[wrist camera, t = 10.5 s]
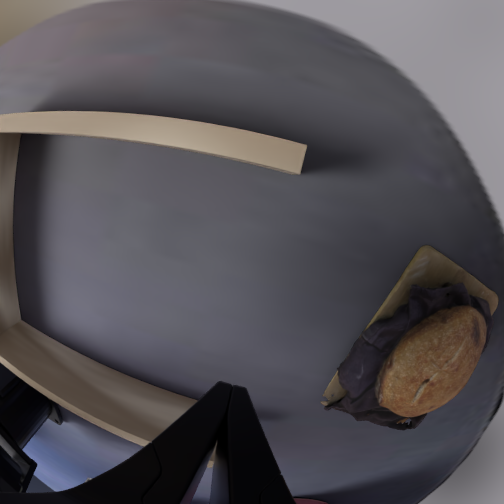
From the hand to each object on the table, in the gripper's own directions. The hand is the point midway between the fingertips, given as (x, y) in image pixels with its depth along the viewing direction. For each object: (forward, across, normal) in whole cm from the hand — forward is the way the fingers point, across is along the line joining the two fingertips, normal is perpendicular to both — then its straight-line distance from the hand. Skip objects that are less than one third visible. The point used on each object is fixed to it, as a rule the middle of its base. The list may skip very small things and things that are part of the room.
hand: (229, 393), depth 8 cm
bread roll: (+6, -10, 0) cm, 11 cm away
